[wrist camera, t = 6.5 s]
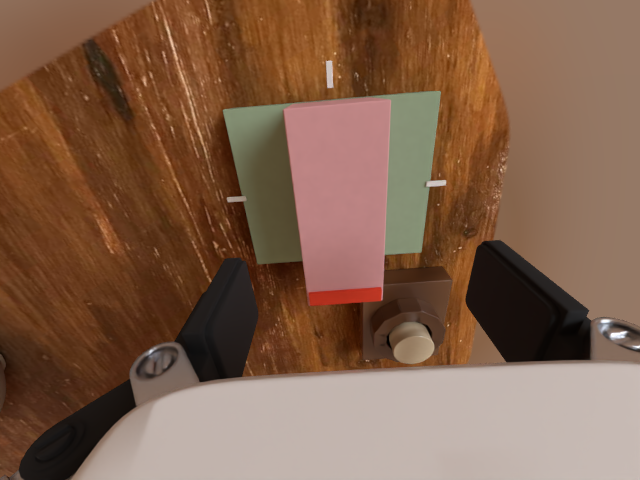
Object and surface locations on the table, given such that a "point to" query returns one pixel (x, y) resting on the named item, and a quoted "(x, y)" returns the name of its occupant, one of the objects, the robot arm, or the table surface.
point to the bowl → (2, 381)
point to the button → (411, 342)
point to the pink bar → (340, 195)
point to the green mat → (276, 181)
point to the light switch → (405, 308)
